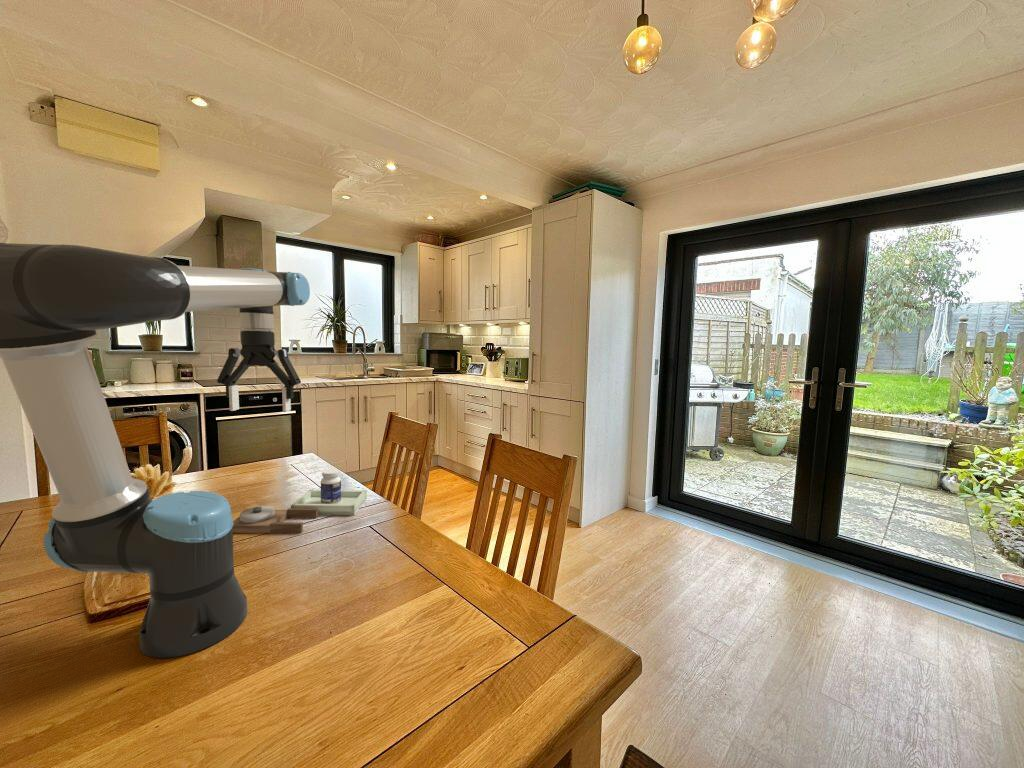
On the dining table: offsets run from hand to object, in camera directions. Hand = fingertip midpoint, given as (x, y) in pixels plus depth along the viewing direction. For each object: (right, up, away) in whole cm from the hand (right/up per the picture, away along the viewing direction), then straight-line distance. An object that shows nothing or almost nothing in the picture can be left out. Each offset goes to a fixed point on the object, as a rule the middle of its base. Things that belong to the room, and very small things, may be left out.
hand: (260, 410), depth 108 cm
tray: (+12, -31, +16) cm, 36 cm away
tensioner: (+2, -32, +3) cm, 32 cm away
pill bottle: (+12, -29, +16) cm, 36 cm away
